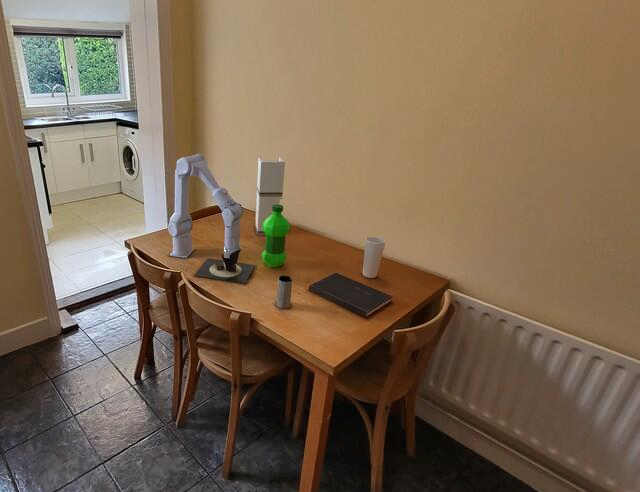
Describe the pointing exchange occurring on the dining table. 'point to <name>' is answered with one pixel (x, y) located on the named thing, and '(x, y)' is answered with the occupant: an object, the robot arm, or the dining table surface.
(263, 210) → the white rectangular tower
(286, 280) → the grey metal cylinder
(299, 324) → the dining table surface
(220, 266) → the eye left
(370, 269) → the drinking glass
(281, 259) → the plastic bottle
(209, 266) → the board
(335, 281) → the hardcover book
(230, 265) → the robot arm
